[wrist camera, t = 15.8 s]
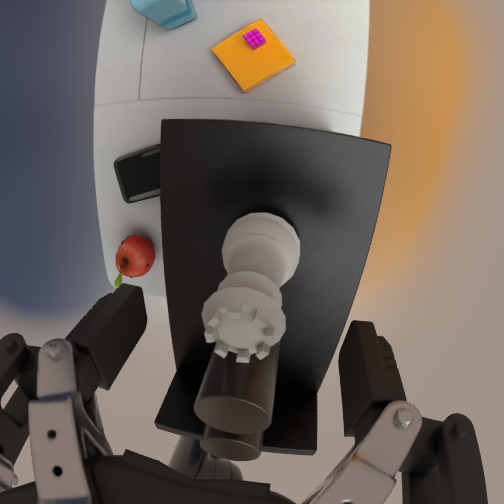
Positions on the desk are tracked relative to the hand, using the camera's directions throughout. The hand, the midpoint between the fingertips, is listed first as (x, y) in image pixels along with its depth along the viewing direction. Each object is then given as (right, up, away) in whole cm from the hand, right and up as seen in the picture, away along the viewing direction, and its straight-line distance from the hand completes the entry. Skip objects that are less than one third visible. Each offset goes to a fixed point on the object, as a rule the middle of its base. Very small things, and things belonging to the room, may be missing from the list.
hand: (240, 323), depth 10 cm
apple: (-18, +3, +37) cm, 41 cm away
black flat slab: (+1, 0, +10) cm, 10 cm away
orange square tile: (+1, +29, +21) cm, 36 cm away
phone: (-14, +15, +30) cm, 37 cm away
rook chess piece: (+1, +3, +7) cm, 8 cm away
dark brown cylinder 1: (+1, -2, +9) cm, 10 cm away
